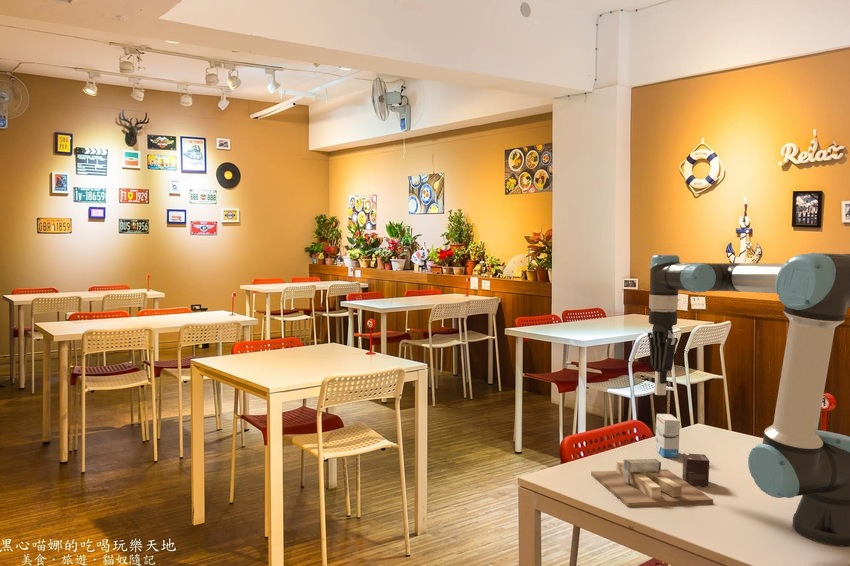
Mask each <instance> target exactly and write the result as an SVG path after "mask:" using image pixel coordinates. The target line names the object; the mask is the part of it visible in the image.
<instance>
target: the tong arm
mask: <svg viewBox="0 0 850 566" xmlns="http://www.w3.org/2000/svg"><path fill="white" fill-rule="evenodd" d="M641 473H642V474H644V475H645V476H646V477H648V478H649V479H651V480H652V481H653V482H655V483H656V484H657V485H659V486H660V487H661V491H663V492H665V493H667V494H668V495H670V496H672V497H680V496H681V494H682V486H681V485H679V484H677V483H675V482H673V481H672V480H670V479H668V478H666V477H664V476H662V475H660V474H659V473H657V472H655V471H648V472H641Z"/></svg>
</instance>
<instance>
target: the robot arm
mask: <svg viewBox="0 0 850 566" xmlns="http://www.w3.org/2000/svg"><path fill="white" fill-rule="evenodd" d="M650 260H651V261H650V267H649V272H650V273H649V294H648V295H649V297H648V300H649V301H648V308H649V309H650V310H649V311H648V323H649V324H650V325H652V329H651V330H652V331H651V332H647V338H648V343H649V344H648V346H649V355H650V356H649V358H650V359H649V360H650V366H651V368H653V370H654V371H655V372H654V395H656V396H666V395H667V381H668V380H667V377H668V376H667V375H668V372H672V370H673V364H674V358H675V353H676V348H677V344H678V342H679V339H678V337H674V335H673V334H674V331H673V326H676V325H677V324H678V311H676V310H678V306H679V304H678V302H679V301H680V300H679V291H684V292H691V293H706V292H736V293H739V292H740V293H741V292H743V293H756V294H757V293H758V294H760V293H761V294H762V293H763V294H776V295H778V297H777V298H778V299H779V301H780V302H781V303H782V305H784V306H783V312H782V313H783V314H784V315H785V316H786V318H788V321H789V322H788V323H789V324H788V329H787V337H786V344H785V349H784V355H783V362H782V367H781V374H780V380H779V386H778V392H777V398H776V399H777V400H776V404H775V405H776V406H775V412H774V419H773V423H772V424H771V425H770V426H768V427H766V428H765V429H764V432H763V437H762V442H761V443H758V444H757V445H755V447H753V448H752V449H751V450H750V451H749V453H748V457H747V463H748V470H749V473H750V476H751V478H752V479H753V480H754V483H755V484H756V486H757V487H758V488H759V489H760V490H761V491H762V492H763V493H765V494H766V495H768V496H770V497H772V498H776V499H777V498H778V499H779V498H780V499H781V498H782V499H783V498H785V499H792V498H794V497H799V496H801V498H800V501H799V503H798V506H797V508H796V510H795V513H794V514H793V515H792V528H793V530H794V531H795V532H796V533H797V534H799V535H801V536H803V537H805V538H807V539H809V540H813V541H815V542H818V543H822V544H825V545H832V546H836V547H837V546H838V547H845V548H846V547H848V548H849V547H850V436H848V435H844V434H841V433H835V432H831V431H826V430H819V429H818V428H819V423H820V416H821V412H822V411H821V410H822V405H823V399H824V394H825V388H826V381H827V377H828V370H829V365H830V364H829V363H830V358H831V353H832V347H833V341H834V335H835V329H836V327H838V326H839V325H842V324H843V323H844V322H845V320H846V315H847V311H848V309H849V308H850V253H828V252H827V253H826V252H825V253H824V252H823V253H822V252H810V253H800V254H798V255H797V254H796V255H795V256H792V257H791V258H789V259H788V260H787V261H786V262H783V263H781V262H780V263H779V262H777V263H776V262H775V263H774V262H773V263H772V262H771V263H769V262H768V263H767V262H765V263H762V262H759V263H758V262H757V263H755V262H754V263H740V262H727V263H726V262H725V263H724V262H723V263H719V262H718V263H717V262H715V263H713V262H712V263H711V262H681V261H680V256H679V255H677V254H654V255H652V257H651V259H650Z"/></svg>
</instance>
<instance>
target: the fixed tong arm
mask: <svg viewBox="0 0 850 566" xmlns="http://www.w3.org/2000/svg"><path fill="white" fill-rule="evenodd" d="M615 466H616V467H615V469H616V470H615V471H616V472H618V473H619V474H620V475H621V476H623V473H624V460H617V461H616V464H615ZM630 483H632V484H633V485H634V486H635V487H637V488H638V489H639V490H640V491H642V492H643V493H644V494H646V495H647V496H648V497H649V498H651V499H661V487H660V486H659V485H657V484H656V483H655V482H653V481H652V480H651V479H649V478H648V477H646V476H645V475H644V474H642V473H641V472H631V473H630Z"/></svg>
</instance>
